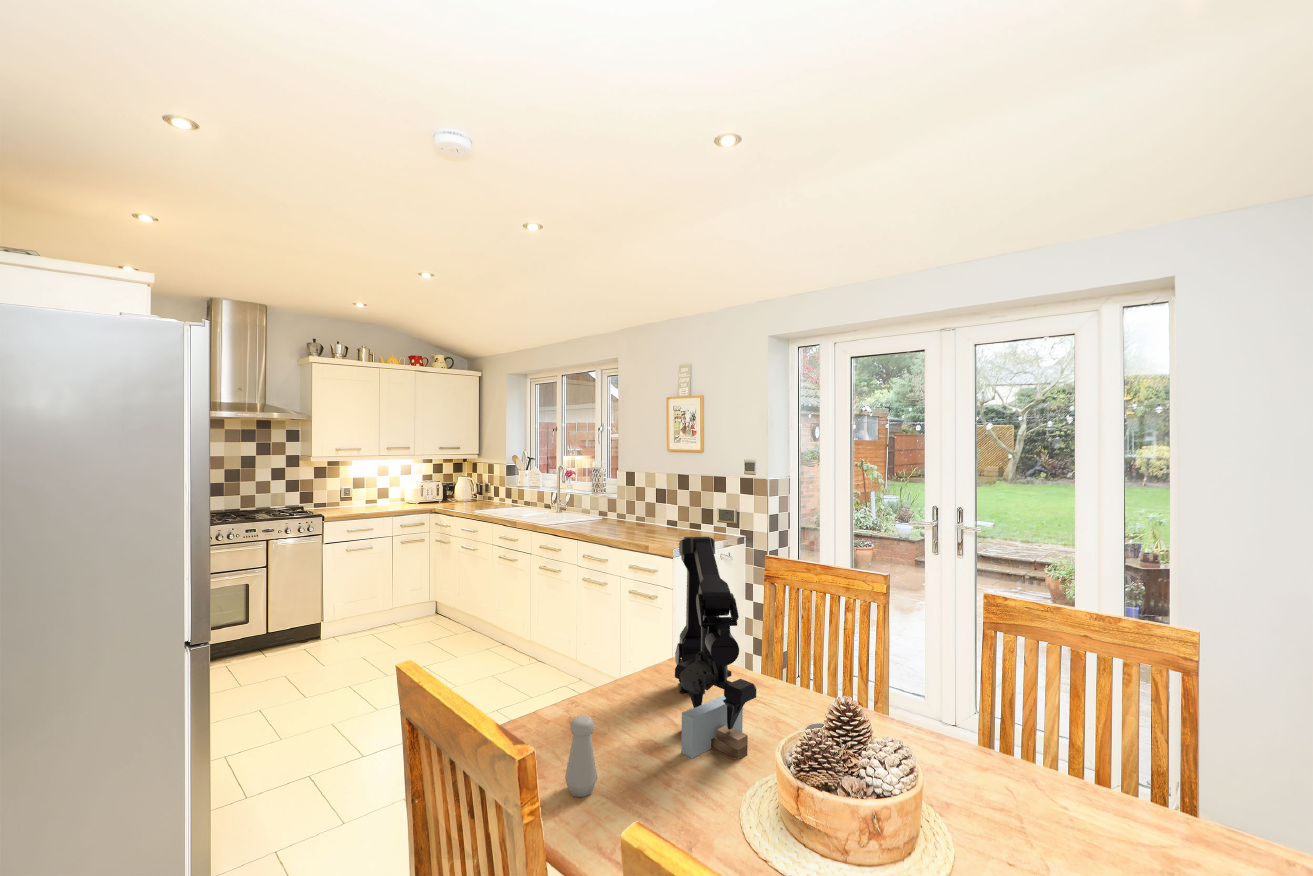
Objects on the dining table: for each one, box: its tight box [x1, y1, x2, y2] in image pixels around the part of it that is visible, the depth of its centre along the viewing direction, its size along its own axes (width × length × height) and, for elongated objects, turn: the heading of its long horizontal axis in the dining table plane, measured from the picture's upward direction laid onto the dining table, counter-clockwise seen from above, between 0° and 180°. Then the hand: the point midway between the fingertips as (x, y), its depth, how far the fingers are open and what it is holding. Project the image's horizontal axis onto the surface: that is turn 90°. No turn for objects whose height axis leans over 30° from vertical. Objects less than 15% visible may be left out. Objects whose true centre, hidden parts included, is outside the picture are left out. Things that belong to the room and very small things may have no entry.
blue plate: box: [680, 695, 744, 759], centre depth 123 cm, size 16×3×8 cm, turn 133°
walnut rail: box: [681, 707, 749, 761], centre depth 123 cm, size 16×3×4 cm, turn 43°
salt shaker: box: [564, 715, 598, 798], centre depth 106 cm, size 6×6×13 cm
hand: (713, 720), depth 124 cm, fingers open, 9 cm apart
